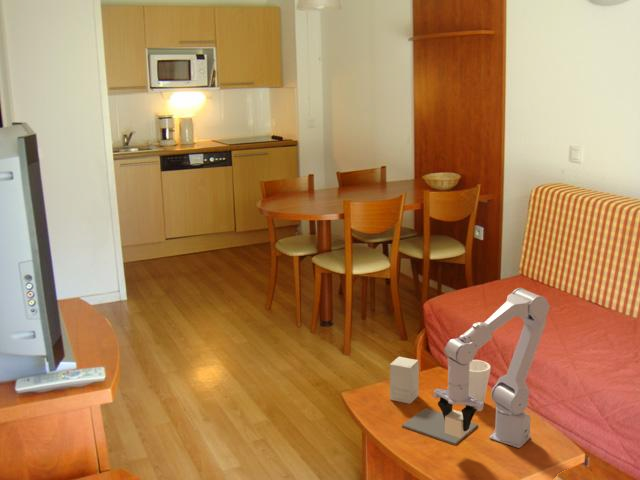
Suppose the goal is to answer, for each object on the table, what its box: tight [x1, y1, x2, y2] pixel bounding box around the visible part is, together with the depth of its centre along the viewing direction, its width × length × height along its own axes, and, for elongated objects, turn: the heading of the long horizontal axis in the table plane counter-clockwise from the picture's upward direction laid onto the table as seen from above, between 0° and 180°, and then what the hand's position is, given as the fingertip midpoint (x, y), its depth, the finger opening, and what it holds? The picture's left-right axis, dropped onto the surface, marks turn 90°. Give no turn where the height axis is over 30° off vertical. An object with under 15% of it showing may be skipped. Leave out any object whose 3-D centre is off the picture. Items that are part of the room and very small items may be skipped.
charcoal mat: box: [401, 407, 479, 446], centre depth 221 cm, size 18×14×1 cm
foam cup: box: [469, 359, 491, 403], centre depth 234 cm, size 10×9×13 cm
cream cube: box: [445, 409, 469, 438], centre depth 205 cm, size 5×5×5 cm
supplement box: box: [389, 356, 420, 405], centre depth 239 cm, size 7×7×13 cm
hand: (457, 426), depth 205 cm, fingers closed on cream cube, 5 cm apart
